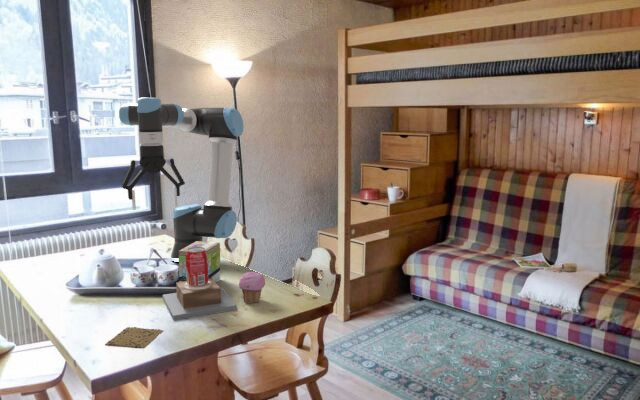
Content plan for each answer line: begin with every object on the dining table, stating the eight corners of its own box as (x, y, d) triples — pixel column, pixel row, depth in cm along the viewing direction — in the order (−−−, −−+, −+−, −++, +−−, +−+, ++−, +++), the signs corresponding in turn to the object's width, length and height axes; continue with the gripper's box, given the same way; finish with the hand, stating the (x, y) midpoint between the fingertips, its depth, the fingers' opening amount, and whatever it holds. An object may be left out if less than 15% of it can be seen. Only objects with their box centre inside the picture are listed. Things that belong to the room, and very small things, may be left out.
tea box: (205, 292, 188) (203, 252, 185) (178, 290, 190) (176, 250, 187) (221, 279, 202) (220, 241, 200) (196, 277, 204) (195, 240, 202)
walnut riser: (176, 296, 179) (175, 281, 179) (212, 291, 184) (211, 276, 184) (183, 309, 169) (182, 293, 168) (221, 303, 174) (220, 287, 173)
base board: (162, 298, 182) (162, 294, 181) (220, 290, 190) (220, 286, 190) (173, 320, 164) (173, 315, 164) (236, 309, 172) (236, 305, 172)
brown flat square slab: (144, 350, 145) (144, 346, 145) (103, 346, 147) (103, 343, 147) (164, 331, 157) (164, 328, 156) (126, 328, 159) (126, 325, 158)
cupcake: (242, 296, 184) (241, 268, 182) (267, 296, 184) (266, 268, 182) (237, 305, 175) (236, 276, 174) (263, 306, 175) (262, 277, 173)
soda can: (197, 279, 180) (195, 245, 178) (213, 283, 177) (211, 248, 175) (182, 285, 174) (180, 250, 172) (198, 289, 171) (196, 253, 169)
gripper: (112, 146, 169) (117, 212, 173) (191, 144, 180) (194, 206, 183) (110, 145, 176) (115, 208, 180) (187, 142, 186) (189, 202, 190)
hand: (155, 207), depth 182 cm, fingers open, 13 cm apart
